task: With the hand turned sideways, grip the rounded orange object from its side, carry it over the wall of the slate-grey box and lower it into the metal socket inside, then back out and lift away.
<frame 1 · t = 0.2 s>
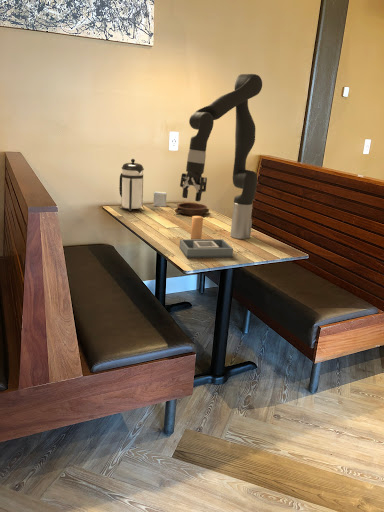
hand: (191, 199, 181), 22 cm above the table, tool pointing down, fingers open, 8 cm apart
dish: (191, 214, 253), on the table
walled box: (205, 252, 182), on the table
rounded orange object: (195, 241, 197), on the table
medicine box: (159, 206, 267), on the table
coffee press: (130, 209, 253), on the table
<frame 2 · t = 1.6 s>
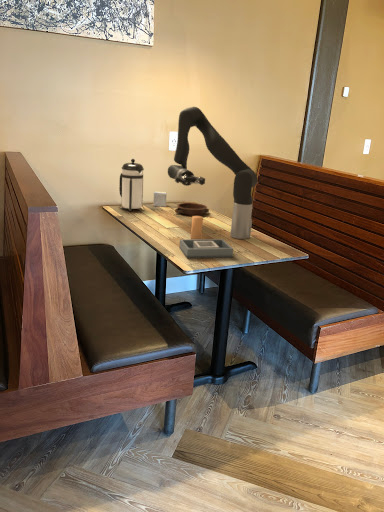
hand: (193, 182, 198), 26 cm above the table, tool horizontal, fingers open, 8 cm apart
nothing on the table moved.
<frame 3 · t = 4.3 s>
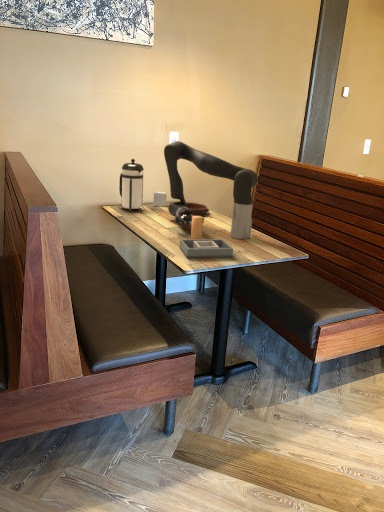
hand: (192, 223, 202), 7 cm above the table, tool horizontal, fingers open, 8 cm apart
nothing on the table moved.
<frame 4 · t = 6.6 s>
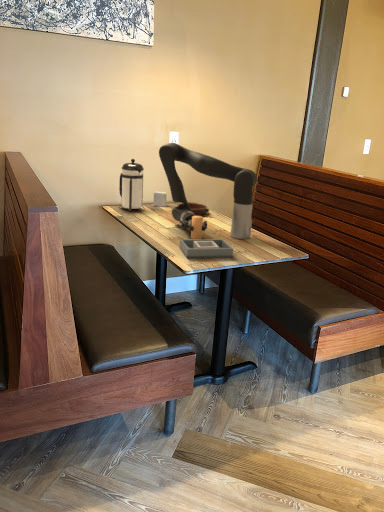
hand: (198, 228, 192), 7 cm above the table, tool horizontal, fingers closed on rounded orange object, 5 cm apart
rounded orange object: (195, 241, 197), on the table, touching gripper
everything else where it was.
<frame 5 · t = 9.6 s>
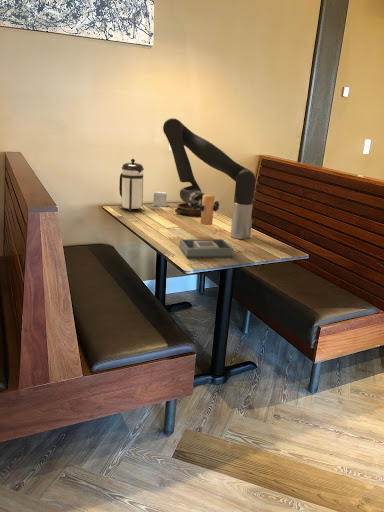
hand: (209, 208, 174), 20 cm above the table, tool horizontal, fingers closed on rounded orange object, 5 cm apart
rounded orange object: (206, 223, 179), point 13 cm above the table, touching gripper
everything else where it was.
when the fingers open (9 cm above the table, at t = 12.7 s): rounded orange object drops 1 cm, resting on walled box.
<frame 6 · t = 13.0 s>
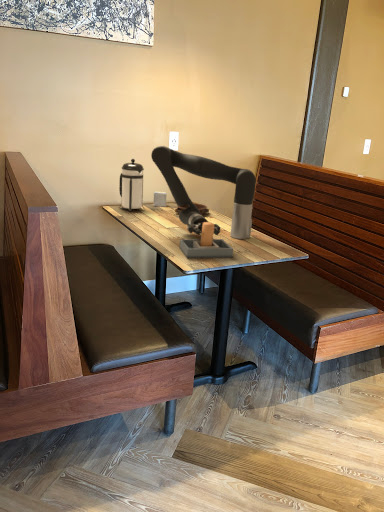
hand: (208, 233, 177), 10 cm above the table, tool horizontal, fingers open, 7 cm apart
rounded orange object: (205, 250, 182), point 1 cm above the table, touching walled box
everything else where it was.
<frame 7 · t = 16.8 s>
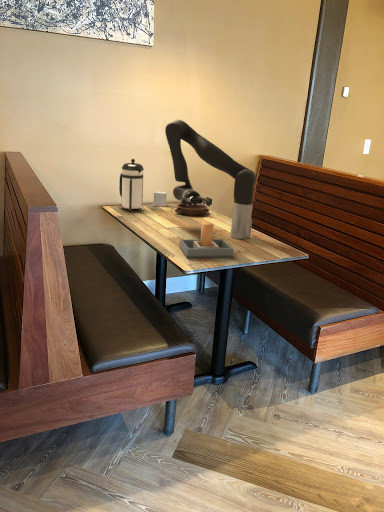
hand: (200, 204, 189), 18 cm above the table, tool horizontal, fingers open, 8 cm apart
nothing on the table moved.
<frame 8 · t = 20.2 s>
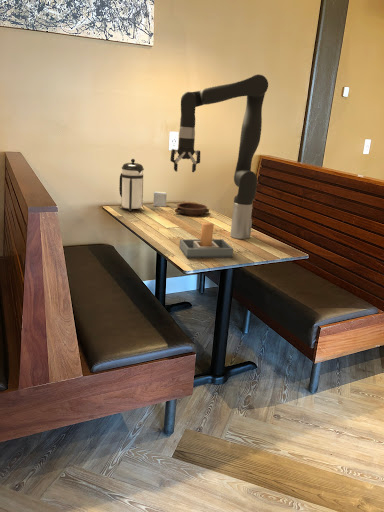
hand: (184, 171, 203), 30 cm above the table, tool pointing down, fingers open, 8 cm apart
nothing on the table moved.
at the end: rounded orange object 0.1 cm off-centre on the walled box, point 1.0 cm above the walled box's base; rounded orange object tilted 0°; the gripper is holding nothing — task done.
